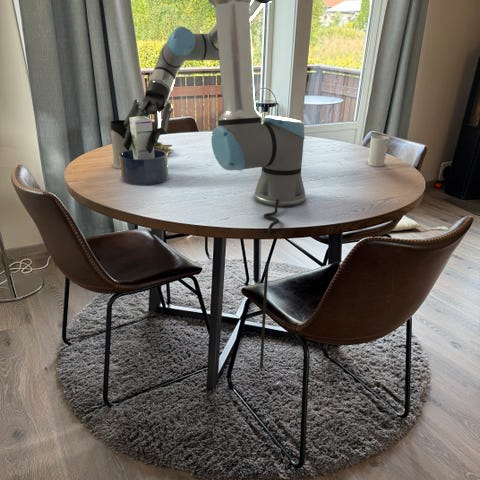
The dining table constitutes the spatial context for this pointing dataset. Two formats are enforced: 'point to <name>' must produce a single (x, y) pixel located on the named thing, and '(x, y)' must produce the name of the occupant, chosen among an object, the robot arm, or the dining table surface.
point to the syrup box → (141, 137)
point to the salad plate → (163, 147)
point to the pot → (144, 168)
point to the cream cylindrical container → (378, 150)
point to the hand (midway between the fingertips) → (137, 149)
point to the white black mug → (118, 140)
